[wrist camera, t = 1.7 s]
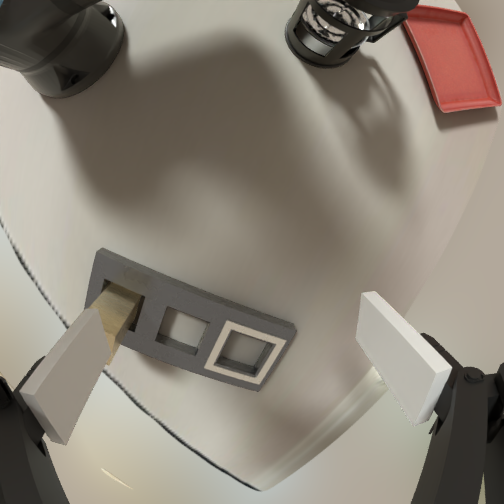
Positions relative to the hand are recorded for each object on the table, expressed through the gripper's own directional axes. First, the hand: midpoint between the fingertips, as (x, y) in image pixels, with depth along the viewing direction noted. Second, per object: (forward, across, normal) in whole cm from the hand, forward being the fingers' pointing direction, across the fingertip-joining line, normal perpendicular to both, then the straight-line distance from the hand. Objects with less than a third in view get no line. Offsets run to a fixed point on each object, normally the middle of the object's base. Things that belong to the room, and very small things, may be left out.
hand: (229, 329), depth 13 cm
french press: (+23, +13, +25) cm, 36 cm away
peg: (+23, -15, -9) cm, 29 cm away
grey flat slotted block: (+23, -7, -13) cm, 27 cm away
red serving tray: (+24, +36, +27) cm, 51 cm away
